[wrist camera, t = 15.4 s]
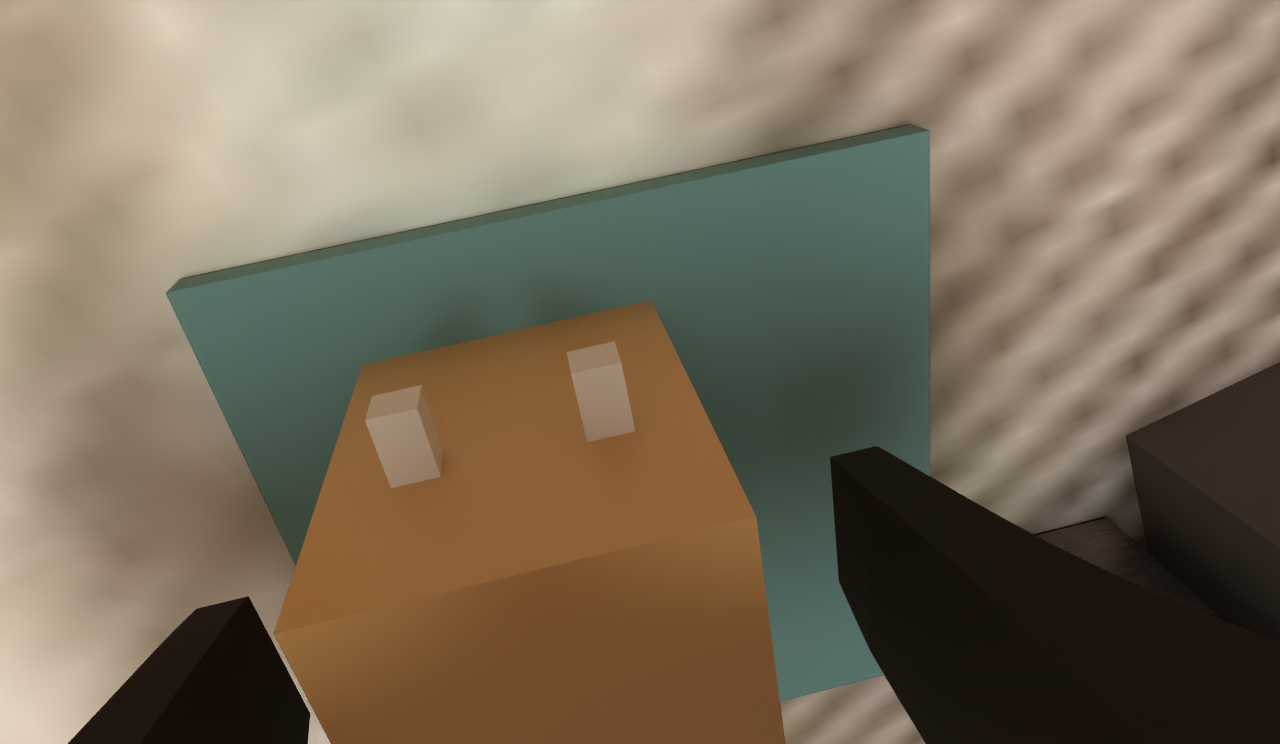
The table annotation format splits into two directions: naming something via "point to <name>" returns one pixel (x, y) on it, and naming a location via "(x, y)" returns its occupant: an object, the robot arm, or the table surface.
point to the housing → (1122, 559)
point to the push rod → (1218, 499)
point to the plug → (534, 552)
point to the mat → (689, 310)
